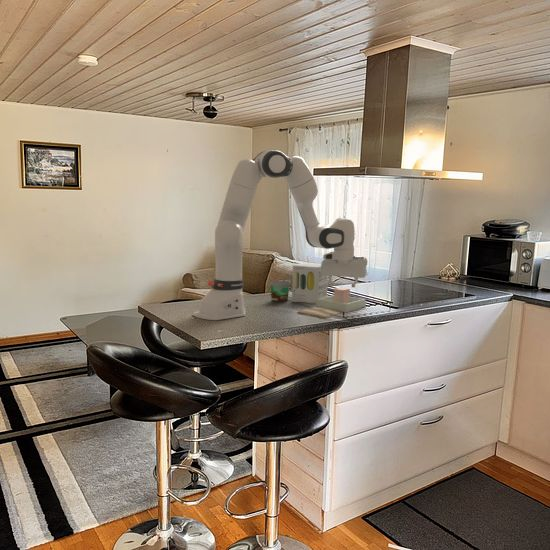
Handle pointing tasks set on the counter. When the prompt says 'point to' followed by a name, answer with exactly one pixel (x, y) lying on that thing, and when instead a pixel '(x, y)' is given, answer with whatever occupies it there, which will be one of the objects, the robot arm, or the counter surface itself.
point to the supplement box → (308, 283)
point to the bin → (330, 304)
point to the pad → (319, 312)
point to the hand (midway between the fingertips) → (342, 286)
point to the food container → (280, 290)
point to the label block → (342, 295)
